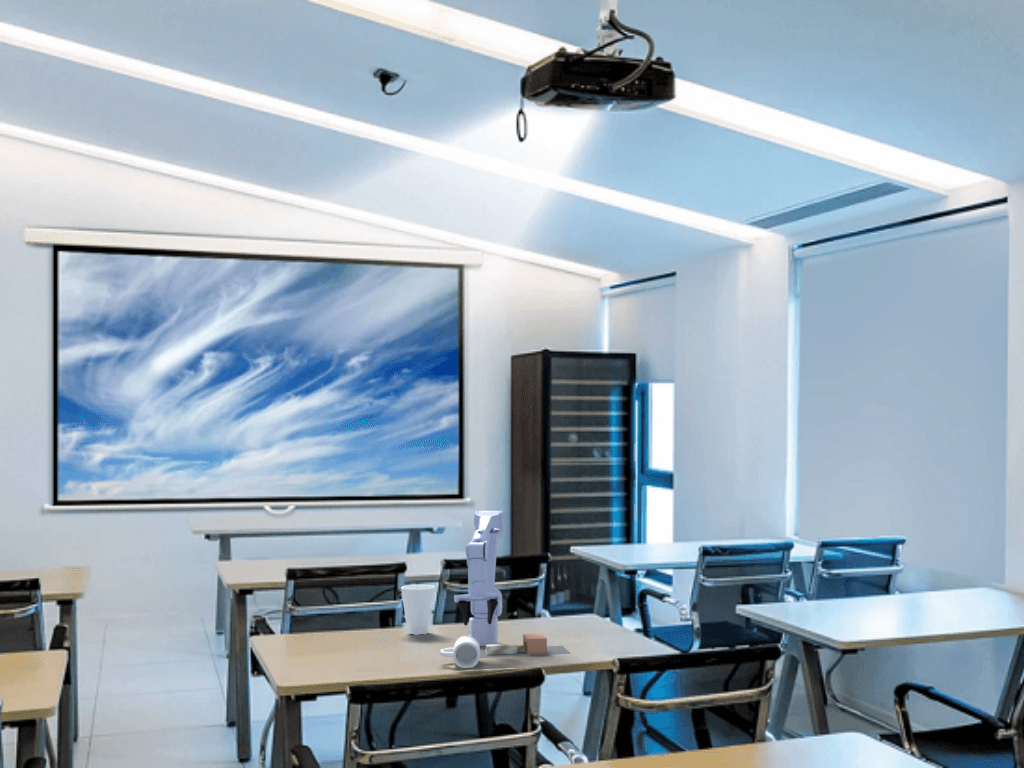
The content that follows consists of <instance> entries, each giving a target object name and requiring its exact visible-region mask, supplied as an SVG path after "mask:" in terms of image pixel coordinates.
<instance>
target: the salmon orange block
mask: <svg viewBox="0 0 1024 768" xmlns="http://www.w3.org/2000/svg"><path fill="white" fill-rule="evenodd" d="M547 640H548V638H547V637H546V636H545V635H544V634H543V633H524V634H522V645H525V651H527V654H528V655H530V656H533V655H532V654H547V646H548V641H547Z"/></svg>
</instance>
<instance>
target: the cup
mask: <svg viewBox="0 0 1024 768" xmlns="http://www.w3.org/2000/svg"><path fill="white" fill-rule="evenodd" d="M435 588H436V586H435V585H432V584H423V583H422V584H419V583H418V584H406V585H403V586H401V587H400V589H401V596H402V602H403V609H404V611H403V612H404V617H405V618H404V619H405V625H406V627H407V634H408V633H409V634H408V635H410V634H414V635H413V636H420V635H419V634H424V635H427V633H428V634H429V627H430V626H431V620H432V613H433V612H432V611H433V605H434V604H433V603H434V596H435Z"/></svg>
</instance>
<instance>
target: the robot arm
mask: <svg viewBox="0 0 1024 768" xmlns="http://www.w3.org/2000/svg"><path fill="white" fill-rule="evenodd" d="M505 524H506V516H505V512H504V510H502V509H501V510H478V509H477V510H475V512H474V515H473V525H474V528H475V531H474V532H473V534H472V537H471V541H470V542H469V543H466V547H465V556H466V566H467V572H468V573H467V576H468V577H467V578H468V579H467V583H468V585H467V586H468V587H467V592H468V593H465V594H454V595H453V598H454V599H453V600H454V603H456V604H457V606H458V608H459V611H460V613H461V617H462V621H463V622H462V623H463V625H464V626H468V636H472V637H474V638H475V639H476V640H477V641H478V643H479V645H480V647H486V645H491V644H501V642H499V639H498V637H499V635H498V634H499V631H498V630H499V629H498V625H499V624H498V622H499V621H498V617H500V616H501V615H502V612H503V595H502V592H501V591H500V590H499V589H498V588H497V587H496V586H495V583H496V582H495V580H496V564H497V551H498V550H497V548H498V543H499V540H500V539H502V538H503V537H504V534H505V526H506V525H505ZM467 602H470V612H471V614H472V616H474V617H469V619H468V606H469V605H468V603H467Z"/></svg>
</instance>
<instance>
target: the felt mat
mask: <svg viewBox="0 0 1024 768" xmlns="http://www.w3.org/2000/svg"><path fill="white" fill-rule="evenodd" d="M565 654H571V651H569V649H567V648H565V646H563V645H547V654H532V655H528V654H527V651H517V653H515V654H495V655H487V654H486V648H484V649H480V659H485V658H487V659H488V658H505V657H525V656H527V657H528V656H529V657H530V656H545V655H565Z"/></svg>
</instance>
